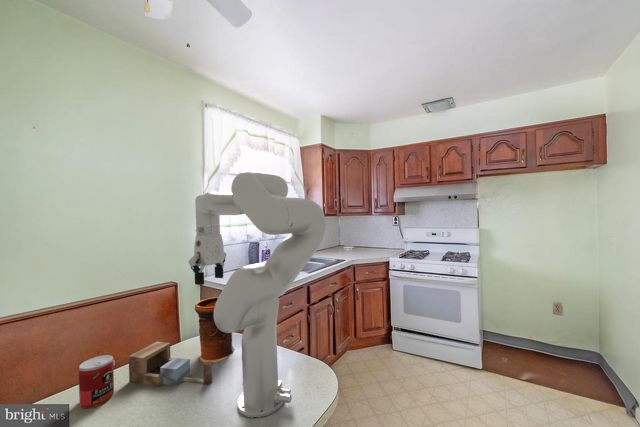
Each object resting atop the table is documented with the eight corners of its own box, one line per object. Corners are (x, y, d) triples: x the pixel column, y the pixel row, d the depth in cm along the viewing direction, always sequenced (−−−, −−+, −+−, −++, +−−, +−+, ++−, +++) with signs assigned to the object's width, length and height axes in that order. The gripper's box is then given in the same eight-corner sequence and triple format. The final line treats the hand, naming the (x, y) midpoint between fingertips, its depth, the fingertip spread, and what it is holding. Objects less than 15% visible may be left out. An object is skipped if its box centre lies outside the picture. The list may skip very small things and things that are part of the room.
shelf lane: (184, 368, 91) (183, 344, 92) (158, 387, 81) (157, 360, 82) (157, 364, 95) (156, 341, 95) (129, 381, 85) (128, 356, 85)
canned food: (94, 410, 72) (93, 369, 72) (71, 407, 74) (70, 367, 74) (120, 392, 80) (120, 355, 80) (99, 390, 81) (98, 354, 82)
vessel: (191, 352, 103) (191, 300, 104) (227, 341, 111) (227, 294, 112) (200, 367, 91) (199, 309, 92) (240, 354, 100) (239, 301, 101)
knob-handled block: (217, 377, 85) (216, 358, 85) (204, 389, 79) (204, 369, 79) (175, 372, 89) (174, 354, 89) (160, 383, 83) (160, 364, 83)
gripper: (199, 232, 81) (200, 287, 81) (232, 229, 98) (234, 275, 97) (179, 232, 83) (181, 287, 83) (215, 230, 100) (217, 275, 99)
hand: (209, 281), depth 90 cm, fingers open, 9 cm apart
